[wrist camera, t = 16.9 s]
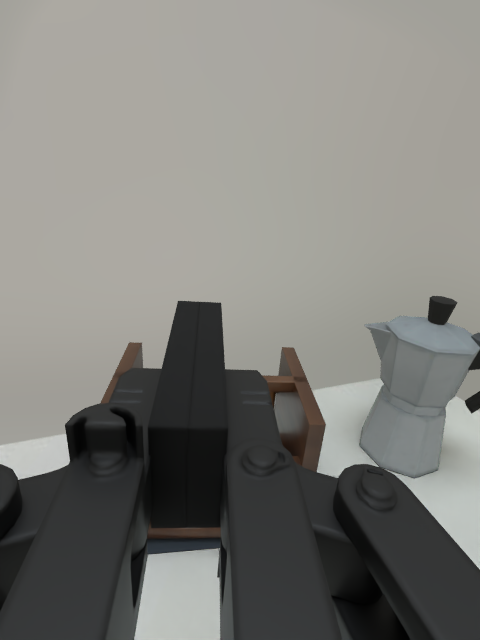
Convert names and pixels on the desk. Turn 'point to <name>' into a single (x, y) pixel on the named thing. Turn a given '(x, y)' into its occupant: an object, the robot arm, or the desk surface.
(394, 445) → the coffee maker
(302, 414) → the rack
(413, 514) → the robot arm
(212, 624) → the desk surface
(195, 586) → the desk surface
